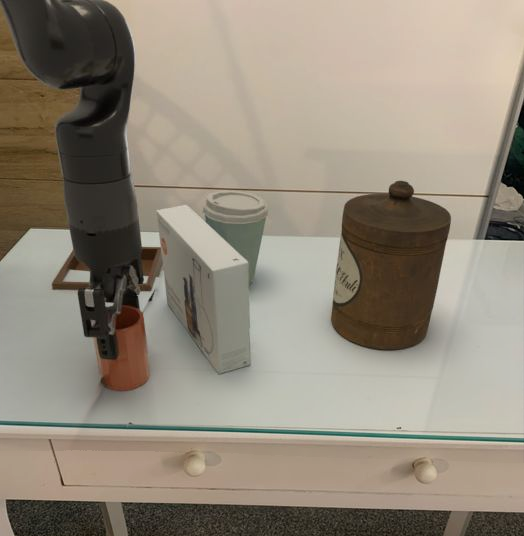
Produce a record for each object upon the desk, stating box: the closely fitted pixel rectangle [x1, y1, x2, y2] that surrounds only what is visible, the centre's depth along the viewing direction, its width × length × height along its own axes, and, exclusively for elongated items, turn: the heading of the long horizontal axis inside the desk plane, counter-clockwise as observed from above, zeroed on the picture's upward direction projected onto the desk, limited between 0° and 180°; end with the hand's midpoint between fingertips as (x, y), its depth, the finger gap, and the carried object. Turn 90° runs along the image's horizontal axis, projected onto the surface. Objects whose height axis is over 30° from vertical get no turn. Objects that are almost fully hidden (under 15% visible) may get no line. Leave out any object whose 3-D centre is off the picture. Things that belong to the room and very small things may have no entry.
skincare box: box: [156, 204, 252, 375], centre depth 78 cm, size 21×6×16 cm, turn 27°
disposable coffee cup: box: [202, 189, 269, 286], centre depth 92 cm, size 11×11×15 cm
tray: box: [51, 246, 163, 301], centre depth 95 cm, size 16×15×3 cm
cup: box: [91, 305, 151, 392], centre depth 71 cm, size 6×6×9 cm
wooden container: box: [330, 180, 452, 350], centre depth 80 cm, size 15×15×22 cm
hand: (121, 338), depth 70 cm, fingers open, 8 cm apart
